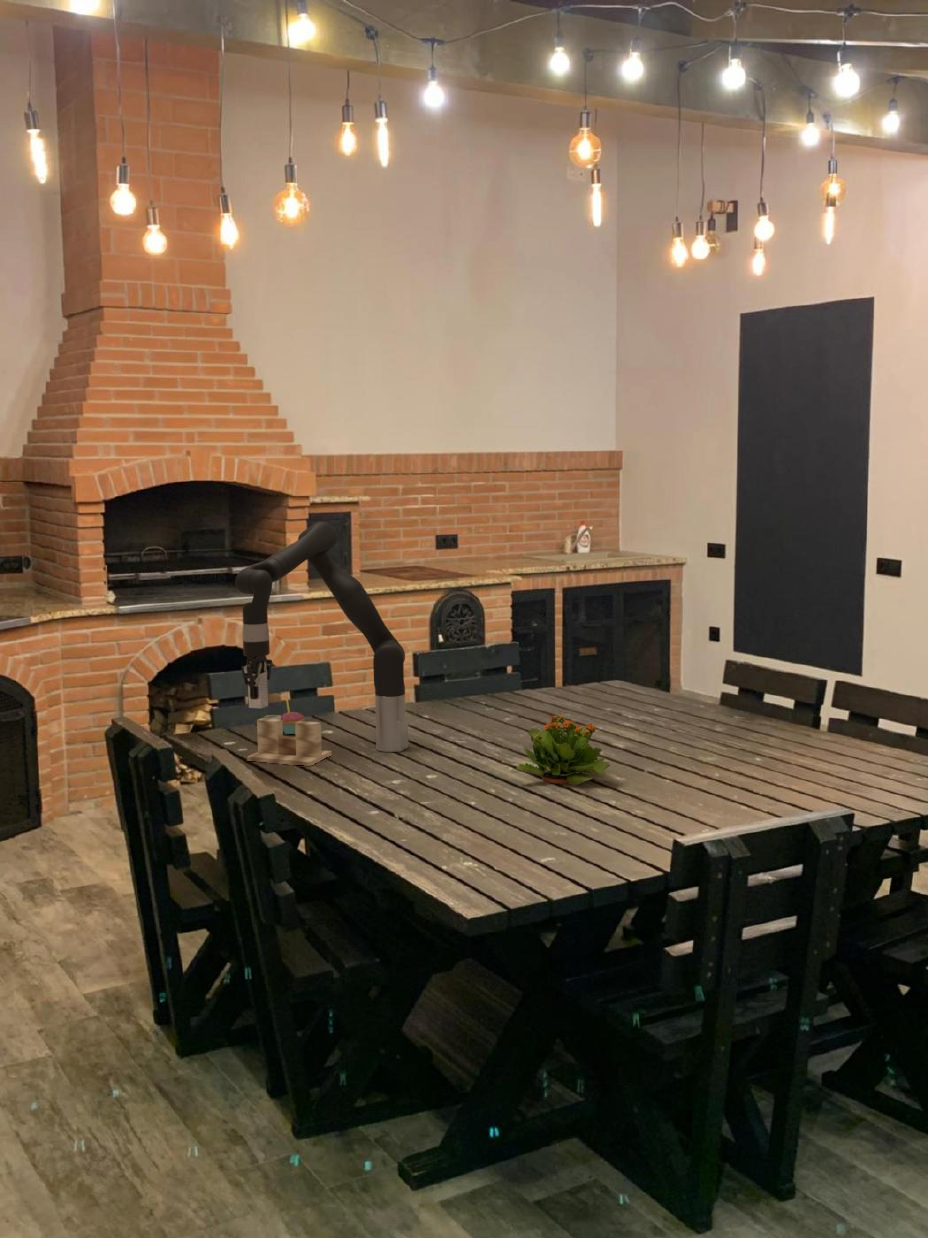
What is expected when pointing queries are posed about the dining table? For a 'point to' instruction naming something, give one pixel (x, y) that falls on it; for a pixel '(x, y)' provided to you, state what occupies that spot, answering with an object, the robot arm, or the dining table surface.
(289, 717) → the cupcake
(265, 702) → the grey square bottle
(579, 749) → the potted flower
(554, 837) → the dining table surface
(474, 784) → the dining table surface
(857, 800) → the dining table surface
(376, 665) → the robot arm
